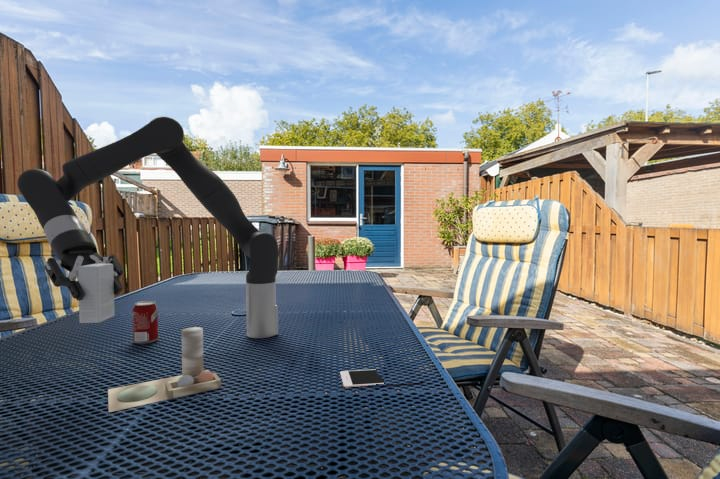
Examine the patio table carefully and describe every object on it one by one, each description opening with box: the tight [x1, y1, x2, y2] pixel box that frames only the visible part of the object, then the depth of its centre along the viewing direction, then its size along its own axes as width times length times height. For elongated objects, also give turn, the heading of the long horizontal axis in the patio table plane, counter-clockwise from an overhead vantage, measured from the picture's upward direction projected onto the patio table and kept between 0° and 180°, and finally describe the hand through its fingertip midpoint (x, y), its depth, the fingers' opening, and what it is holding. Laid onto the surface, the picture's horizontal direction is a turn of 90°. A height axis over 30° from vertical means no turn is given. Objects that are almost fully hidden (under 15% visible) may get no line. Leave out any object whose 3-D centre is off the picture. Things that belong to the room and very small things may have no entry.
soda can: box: [131, 300, 159, 345], centre depth 119 cm, size 7×7×12 cm
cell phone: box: [339, 368, 384, 389], centre depth 91 cm, size 9×18×1 cm, turn 99°
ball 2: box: [198, 370, 214, 383], centre depth 83 cm, size 3×3×3 cm
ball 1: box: [177, 375, 194, 387], centre depth 81 cm, size 3×3×3 cm
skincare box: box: [77, 264, 116, 324], centre depth 85 cm, size 6×4×12 cm
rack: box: [107, 326, 222, 413], centre depth 82 cm, size 20×12×12 cm, turn 123°
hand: (101, 295), depth 84 cm, fingers closed on skincare box, 7 cm apart
